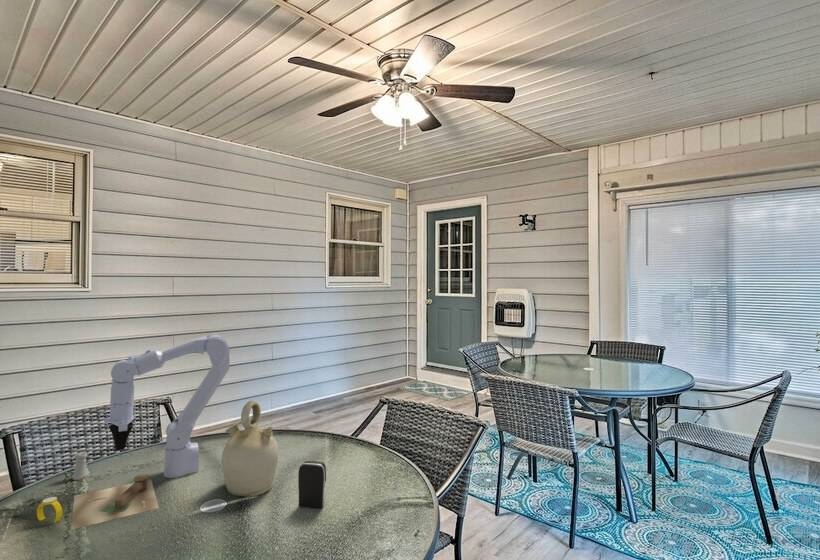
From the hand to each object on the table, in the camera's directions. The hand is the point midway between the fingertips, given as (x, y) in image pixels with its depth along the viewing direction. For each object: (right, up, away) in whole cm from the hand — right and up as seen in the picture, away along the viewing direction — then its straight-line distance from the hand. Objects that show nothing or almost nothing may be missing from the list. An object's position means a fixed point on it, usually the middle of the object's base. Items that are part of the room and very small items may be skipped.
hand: (120, 449), depth 127 cm
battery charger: (+58, -11, -10) cm, 60 cm away
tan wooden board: (+6, -10, -11) cm, 16 cm away
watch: (-4, -10, -20) cm, 23 cm away
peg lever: (+9, -10, -9) cm, 16 cm away
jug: (+38, -11, -1) cm, 40 cm away
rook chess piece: (-14, -11, +3) cm, 18 cm away
